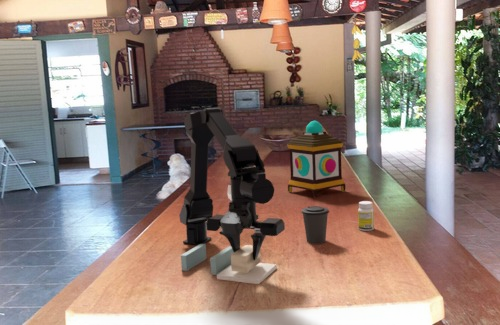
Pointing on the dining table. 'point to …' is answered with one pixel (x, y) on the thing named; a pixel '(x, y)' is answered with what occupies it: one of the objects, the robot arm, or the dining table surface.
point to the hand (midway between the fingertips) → (246, 258)
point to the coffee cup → (315, 224)
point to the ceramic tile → (248, 274)
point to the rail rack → (199, 255)
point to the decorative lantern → (315, 160)
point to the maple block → (244, 259)
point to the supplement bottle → (365, 216)
